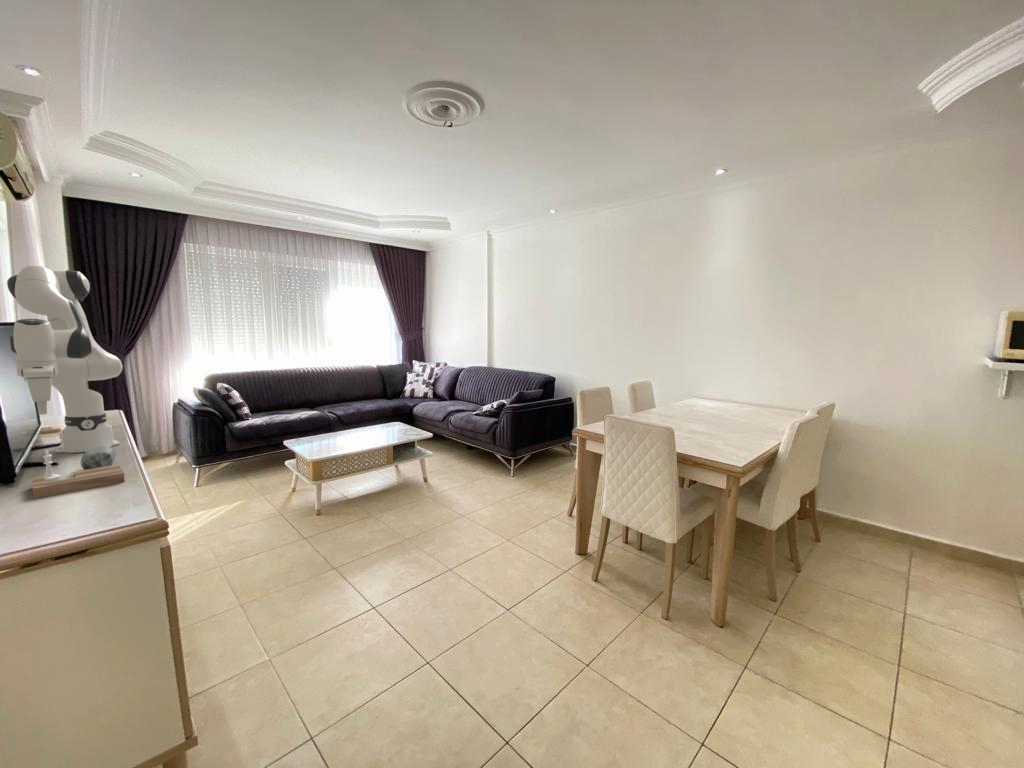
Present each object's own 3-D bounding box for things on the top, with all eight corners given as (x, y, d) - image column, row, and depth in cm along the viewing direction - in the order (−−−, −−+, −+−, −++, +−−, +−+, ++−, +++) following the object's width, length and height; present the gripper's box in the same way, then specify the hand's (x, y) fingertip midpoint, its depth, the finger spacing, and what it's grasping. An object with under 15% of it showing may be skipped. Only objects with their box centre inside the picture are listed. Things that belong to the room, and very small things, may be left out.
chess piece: (41, 482, 136) (37, 453, 135) (37, 479, 139) (33, 450, 138) (62, 478, 140) (59, 449, 139) (58, 475, 143) (55, 447, 142)
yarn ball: (119, 463, 148) (100, 439, 146) (86, 480, 142) (66, 455, 140) (127, 462, 159) (110, 440, 157) (97, 477, 154) (78, 455, 152)
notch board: (33, 487, 132) (32, 478, 132) (119, 472, 147) (118, 464, 147) (33, 498, 124) (32, 488, 124) (124, 481, 140) (123, 472, 139)
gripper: (23, 367, 139) (27, 408, 141) (22, 373, 126) (28, 418, 128) (51, 366, 144) (55, 406, 146) (53, 371, 131) (58, 415, 133)
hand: (42, 411), depth 137 cm, fingers open, 8 cm apart
